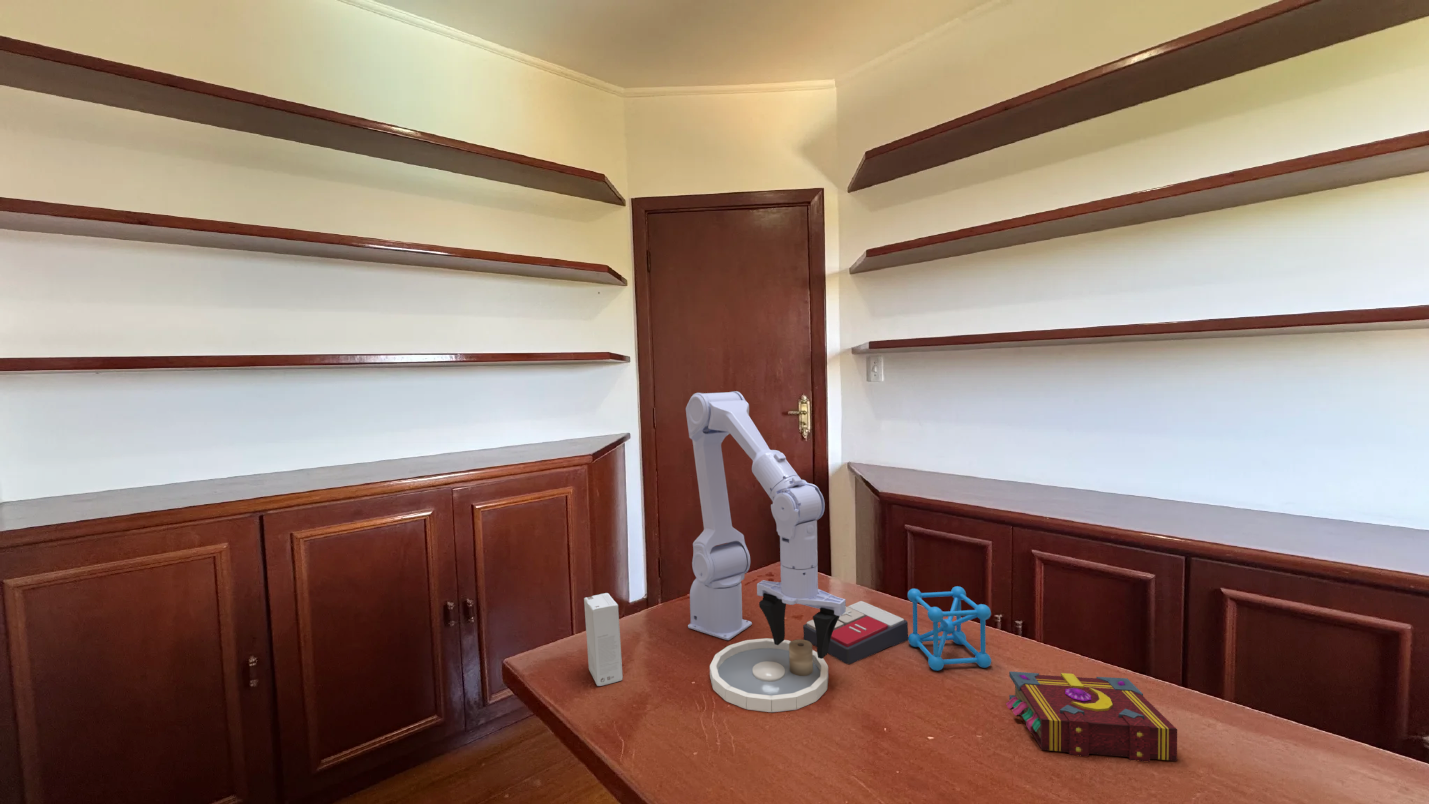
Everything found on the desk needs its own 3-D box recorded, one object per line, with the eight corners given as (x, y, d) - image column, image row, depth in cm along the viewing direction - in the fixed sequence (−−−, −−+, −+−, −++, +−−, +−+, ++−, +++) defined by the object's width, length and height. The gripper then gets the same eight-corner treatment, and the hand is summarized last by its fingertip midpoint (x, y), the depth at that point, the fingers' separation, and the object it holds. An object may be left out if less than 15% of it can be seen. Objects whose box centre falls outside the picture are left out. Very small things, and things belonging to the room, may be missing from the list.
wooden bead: (785, 671, 87) (784, 646, 87) (796, 661, 90) (796, 637, 90) (806, 678, 85) (805, 652, 85) (816, 668, 88) (816, 643, 88)
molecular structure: (994, 670, 87) (994, 607, 87) (932, 674, 87) (931, 610, 86) (962, 640, 97) (961, 583, 97) (906, 643, 97) (905, 586, 96)
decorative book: (1180, 766, 66) (1180, 725, 65) (1031, 754, 68) (1031, 714, 68) (1126, 709, 77) (1126, 674, 76) (1000, 701, 80) (1000, 666, 79)
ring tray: (687, 685, 85) (686, 674, 85) (751, 639, 100) (751, 629, 99) (791, 727, 74) (791, 714, 74) (846, 668, 89) (846, 657, 89)
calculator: (801, 620, 99) (861, 596, 107) (803, 644, 99) (862, 618, 107) (847, 645, 90) (908, 616, 98) (848, 670, 90) (909, 640, 98)
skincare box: (623, 680, 87) (621, 604, 87) (595, 688, 85) (592, 610, 85) (613, 663, 93) (610, 591, 92) (586, 669, 91) (583, 596, 90)
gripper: (745, 562, 88) (747, 646, 89) (830, 580, 79) (832, 673, 80) (769, 550, 94) (770, 629, 94) (850, 566, 85) (852, 653, 86)
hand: (800, 648), depth 88 cm, fingers open, 7 cm apart
